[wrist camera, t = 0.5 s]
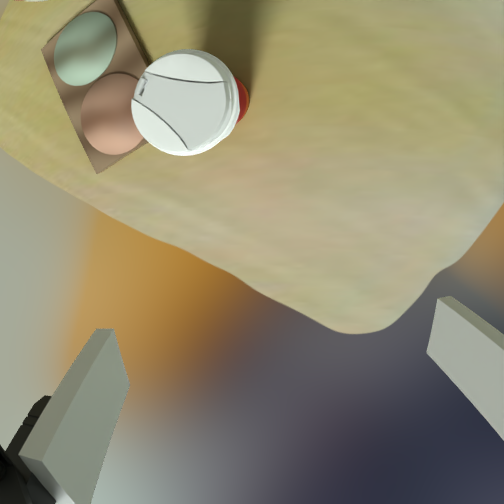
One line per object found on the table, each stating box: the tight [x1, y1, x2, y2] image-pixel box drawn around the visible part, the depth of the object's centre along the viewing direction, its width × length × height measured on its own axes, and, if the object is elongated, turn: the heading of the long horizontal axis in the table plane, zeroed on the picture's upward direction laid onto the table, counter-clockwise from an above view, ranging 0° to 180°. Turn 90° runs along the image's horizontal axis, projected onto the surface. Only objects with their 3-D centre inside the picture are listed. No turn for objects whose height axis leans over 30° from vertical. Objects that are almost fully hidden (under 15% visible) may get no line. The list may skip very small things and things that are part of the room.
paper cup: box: [131, 49, 249, 156], centre depth 25 cm, size 8×8×14 cm
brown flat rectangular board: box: [41, 0, 150, 174], centre depth 30 cm, size 20×12×2 cm, turn 25°
